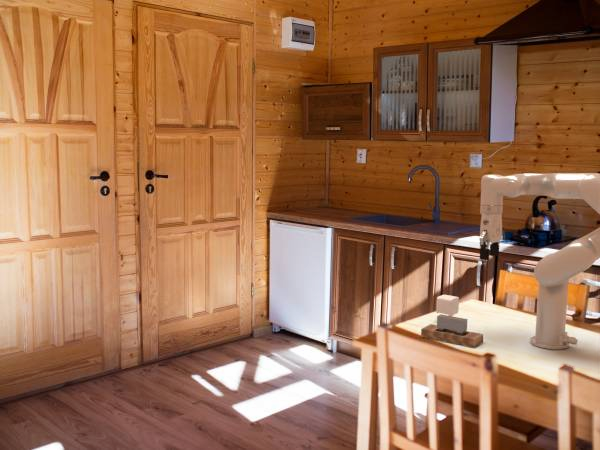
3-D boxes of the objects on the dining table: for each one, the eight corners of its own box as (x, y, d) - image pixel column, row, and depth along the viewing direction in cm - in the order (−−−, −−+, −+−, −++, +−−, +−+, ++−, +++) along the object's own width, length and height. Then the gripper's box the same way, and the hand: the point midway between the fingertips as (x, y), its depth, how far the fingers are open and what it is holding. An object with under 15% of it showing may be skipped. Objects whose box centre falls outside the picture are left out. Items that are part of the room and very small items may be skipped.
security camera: (443, 319, 269) (444, 294, 267) (460, 322, 264) (461, 297, 263) (435, 322, 264) (436, 297, 262) (452, 326, 259) (453, 300, 258)
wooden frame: (483, 342, 240) (483, 334, 240) (474, 348, 234) (475, 339, 234) (430, 332, 252) (430, 324, 251) (421, 337, 246) (421, 328, 245)
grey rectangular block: (466, 341, 241) (467, 319, 240) (463, 343, 239) (464, 321, 238) (439, 336, 247) (440, 314, 246) (436, 338, 245) (437, 316, 244)
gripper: (492, 213, 234) (490, 262, 237) (510, 208, 248) (508, 255, 251) (471, 211, 239) (469, 260, 241) (489, 206, 253) (488, 252, 255)
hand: (489, 257), depth 246 cm, fingers open, 9 cm apart
